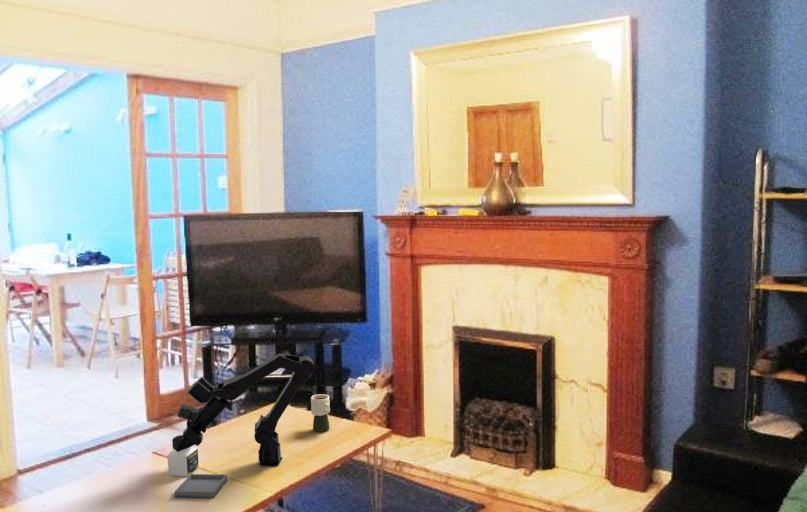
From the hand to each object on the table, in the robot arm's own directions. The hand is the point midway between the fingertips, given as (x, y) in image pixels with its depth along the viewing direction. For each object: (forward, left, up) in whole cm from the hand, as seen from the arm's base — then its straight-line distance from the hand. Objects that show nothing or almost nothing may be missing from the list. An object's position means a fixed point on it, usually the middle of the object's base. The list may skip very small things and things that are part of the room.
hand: (177, 447), depth 216 cm
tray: (-12, +12, -9) cm, 19 cm away
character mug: (-39, -38, -9) cm, 56 cm away
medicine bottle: (-1, 0, -9) cm, 9 cm away
